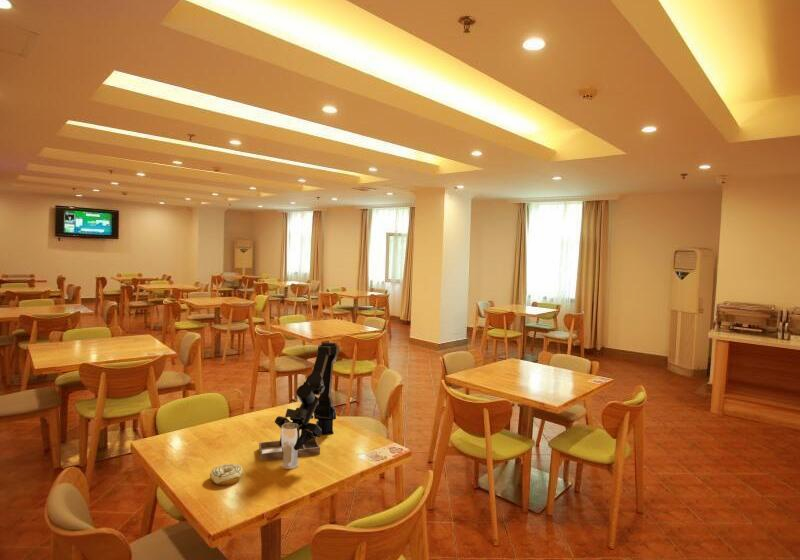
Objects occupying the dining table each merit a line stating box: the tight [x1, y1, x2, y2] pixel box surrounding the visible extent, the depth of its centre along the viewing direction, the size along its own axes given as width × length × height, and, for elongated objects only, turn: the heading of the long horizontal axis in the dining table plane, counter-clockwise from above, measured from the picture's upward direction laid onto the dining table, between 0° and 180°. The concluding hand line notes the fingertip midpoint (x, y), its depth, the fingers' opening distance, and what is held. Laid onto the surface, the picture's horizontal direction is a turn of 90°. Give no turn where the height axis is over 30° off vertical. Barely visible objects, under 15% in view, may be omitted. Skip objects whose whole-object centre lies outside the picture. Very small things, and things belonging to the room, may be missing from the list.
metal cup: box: [280, 423, 301, 470], centre depth 171 cm, size 7×7×15 cm
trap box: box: [258, 436, 321, 462], centre depth 183 cm, size 22×11×2 cm, turn 109°
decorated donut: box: [209, 463, 243, 486], centre depth 160 cm, size 10×11×4 cm
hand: (287, 448), depth 169 cm, fingers closed on metal cup, 7 cm apart
